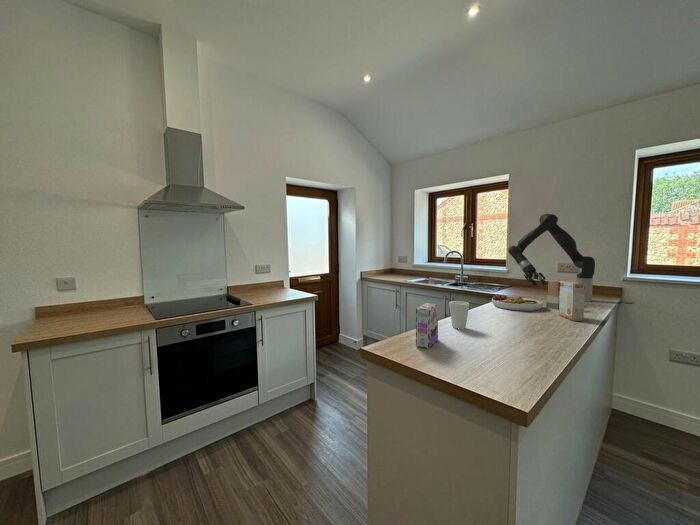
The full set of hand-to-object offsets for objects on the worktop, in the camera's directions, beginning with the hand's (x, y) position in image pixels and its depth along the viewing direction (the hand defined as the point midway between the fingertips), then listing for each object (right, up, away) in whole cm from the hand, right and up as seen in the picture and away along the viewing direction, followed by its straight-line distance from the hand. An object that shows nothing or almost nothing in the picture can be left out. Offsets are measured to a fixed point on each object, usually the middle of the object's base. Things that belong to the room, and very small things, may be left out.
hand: (541, 285), depth 199 cm
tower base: (+3, -15, -8) cm, 17 cm away
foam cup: (-77, -18, -52) cm, 94 cm away
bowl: (-19, -15, -3) cm, 25 cm away
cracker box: (-7, -16, -35) cm, 40 cm away
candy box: (-99, -19, -75) cm, 126 cm away
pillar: (+2, -7, -8) cm, 11 cm away
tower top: (+3, -11, -8) cm, 14 cm away
